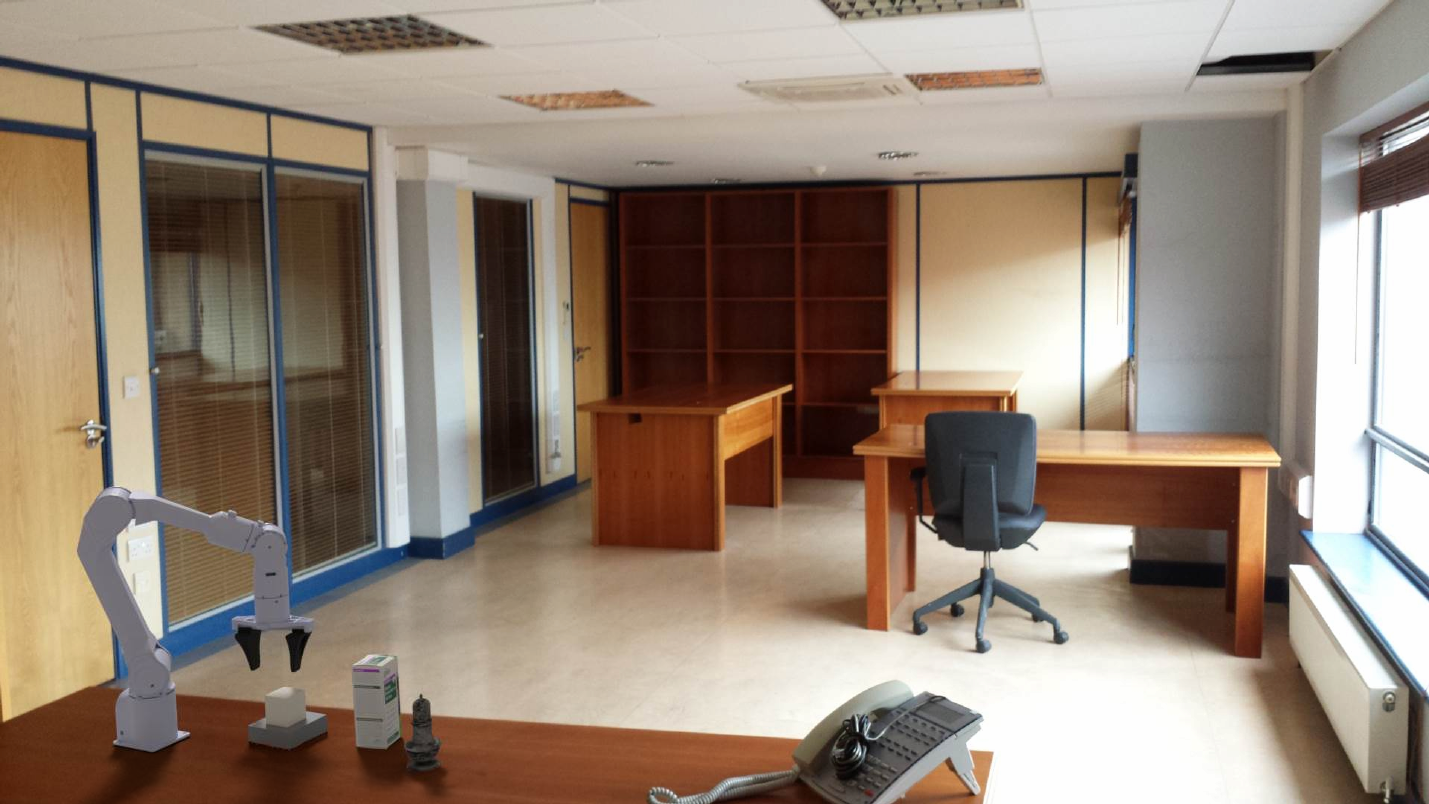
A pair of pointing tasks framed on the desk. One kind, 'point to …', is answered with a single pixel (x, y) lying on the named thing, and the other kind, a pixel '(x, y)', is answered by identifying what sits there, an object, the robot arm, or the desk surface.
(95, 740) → the desk surface
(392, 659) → the syrup box
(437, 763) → the salt shaker
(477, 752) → the desk surface
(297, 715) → the cream white cube
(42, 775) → the desk surface
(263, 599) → the robot arm
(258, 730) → the block
